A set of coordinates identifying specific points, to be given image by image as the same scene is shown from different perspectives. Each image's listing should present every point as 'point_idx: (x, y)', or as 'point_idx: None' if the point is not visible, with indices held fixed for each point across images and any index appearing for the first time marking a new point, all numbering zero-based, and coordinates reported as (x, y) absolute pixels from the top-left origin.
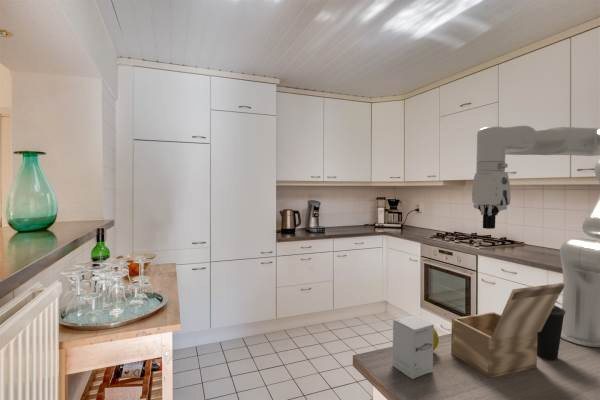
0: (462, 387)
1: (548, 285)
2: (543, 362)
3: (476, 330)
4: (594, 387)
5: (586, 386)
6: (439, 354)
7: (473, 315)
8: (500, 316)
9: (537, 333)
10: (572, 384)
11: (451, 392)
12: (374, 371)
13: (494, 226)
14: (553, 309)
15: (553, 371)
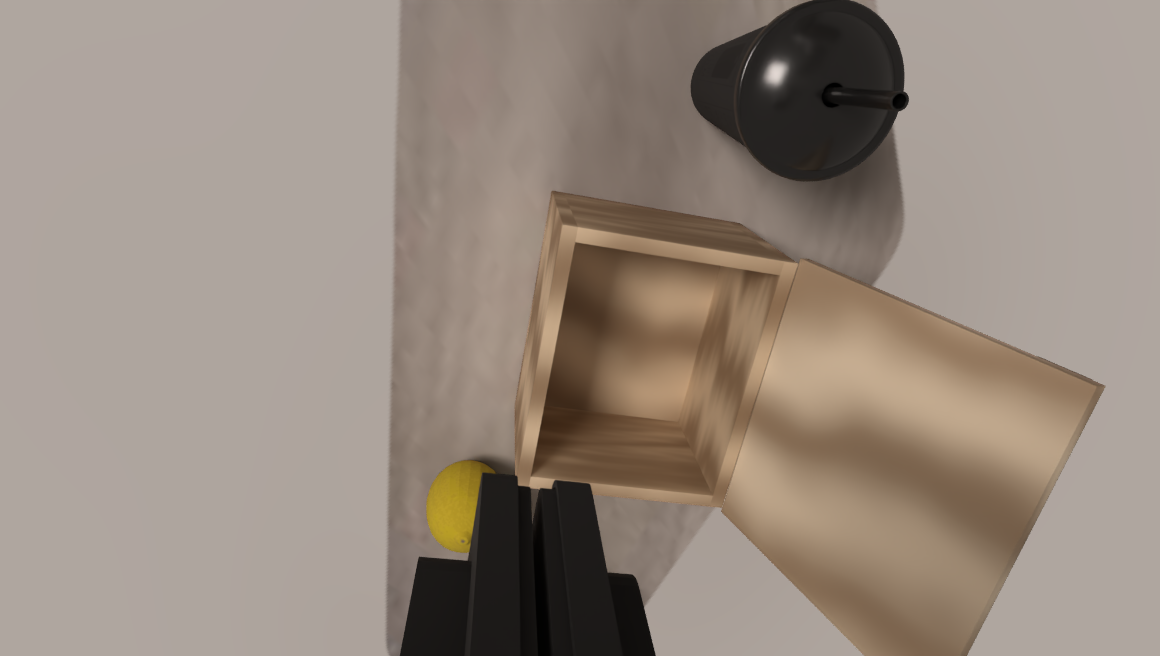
0: (664, 530)
1: (1038, 505)
2: (740, 159)
3: (650, 497)
4: (901, 187)
5: (883, 205)
6: (502, 449)
7: (540, 369)
8: (612, 246)
9: (790, 259)
10: (851, 234)
11: (661, 569)
12: None
13: (590, 515)
14: (865, 131)
15: (786, 199)
